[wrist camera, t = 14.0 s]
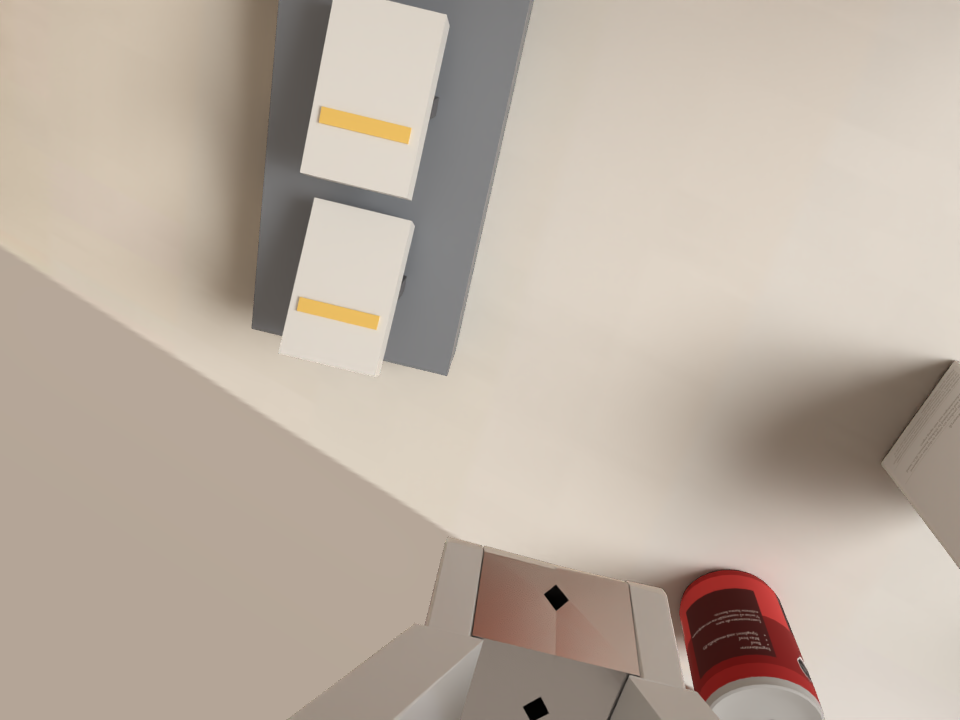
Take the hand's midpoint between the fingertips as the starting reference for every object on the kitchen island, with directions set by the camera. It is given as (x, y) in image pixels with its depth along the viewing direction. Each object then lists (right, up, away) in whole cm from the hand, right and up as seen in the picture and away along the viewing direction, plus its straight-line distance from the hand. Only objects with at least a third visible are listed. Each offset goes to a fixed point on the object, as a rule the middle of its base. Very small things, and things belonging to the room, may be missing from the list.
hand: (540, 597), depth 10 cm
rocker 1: (-6, +17, +26) cm, 32 cm away
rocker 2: (-8, +7, +31) cm, 33 cm away
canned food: (+19, -16, +46) cm, 53 cm away
